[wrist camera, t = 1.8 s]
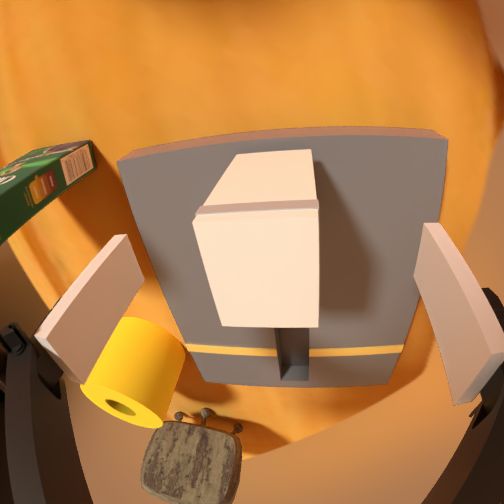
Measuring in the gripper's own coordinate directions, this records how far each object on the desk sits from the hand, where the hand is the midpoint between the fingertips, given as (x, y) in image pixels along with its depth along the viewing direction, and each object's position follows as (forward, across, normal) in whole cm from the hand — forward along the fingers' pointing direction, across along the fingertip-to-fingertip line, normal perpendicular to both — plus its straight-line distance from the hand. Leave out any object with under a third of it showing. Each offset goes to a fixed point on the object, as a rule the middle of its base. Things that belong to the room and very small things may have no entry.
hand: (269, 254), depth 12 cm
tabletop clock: (+10, -15, -38) cm, 42 cm away
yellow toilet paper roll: (+10, -18, -20) cm, 28 cm away
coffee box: (+9, -18, +4) cm, 21 cm away
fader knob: (+9, 0, 0) cm, 9 cm away
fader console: (+9, 0, -10) cm, 13 cm away
